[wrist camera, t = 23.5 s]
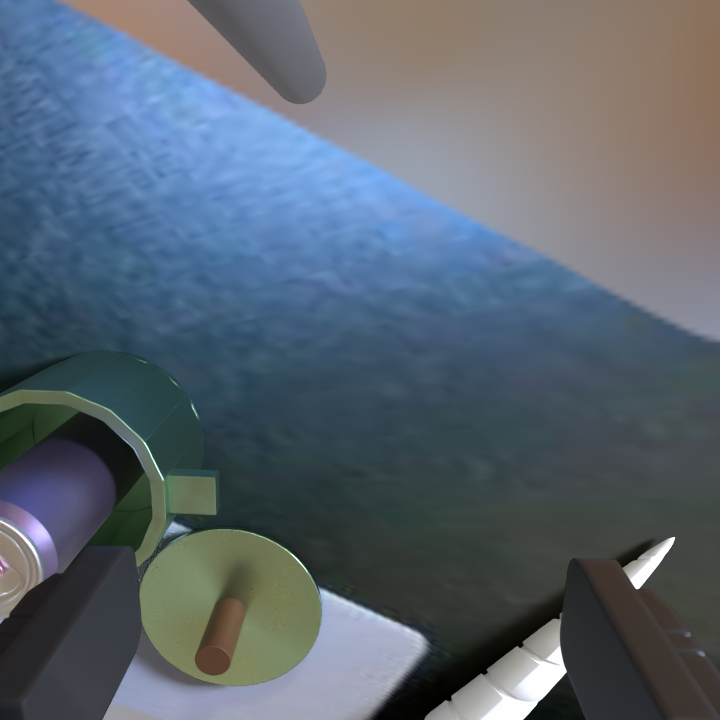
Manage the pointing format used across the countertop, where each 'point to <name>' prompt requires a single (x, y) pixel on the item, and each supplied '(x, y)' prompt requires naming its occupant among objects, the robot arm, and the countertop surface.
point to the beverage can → (59, 501)
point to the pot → (134, 425)
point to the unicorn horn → (528, 666)
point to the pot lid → (230, 606)
